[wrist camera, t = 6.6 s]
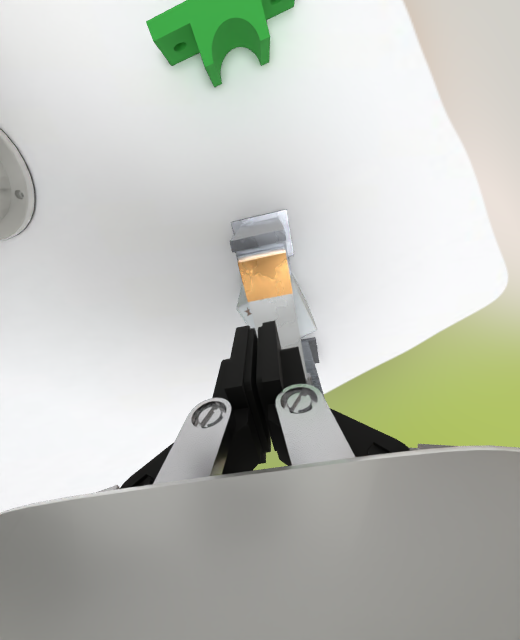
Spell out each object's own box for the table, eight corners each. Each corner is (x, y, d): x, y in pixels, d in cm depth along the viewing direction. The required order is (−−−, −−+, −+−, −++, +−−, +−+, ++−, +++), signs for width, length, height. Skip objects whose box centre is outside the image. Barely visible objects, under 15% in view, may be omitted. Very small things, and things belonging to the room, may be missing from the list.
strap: (234, 256, 21) (231, 261, 20) (288, 244, 21) (290, 248, 19) (268, 389, 27) (269, 401, 26) (311, 382, 27) (314, 394, 25)
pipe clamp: (185, 102, 25) (169, 84, 21) (166, 51, 24) (145, 21, 19) (302, 47, 23) (310, 16, 19) (290, -11, 22) (295, -59, 18)
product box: (264, 324, 35) (263, 355, 28) (240, 283, 32) (233, 307, 26) (307, 303, 33) (318, 331, 27) (286, 259, 31) (292, 278, 24)
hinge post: (255, 348, 36) (251, 415, 25) (314, 337, 35) (337, 402, 24) (260, 369, 37) (259, 442, 27) (318, 360, 37) (340, 430, 26)
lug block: (231, 221, 29) (214, 237, 19) (286, 209, 29) (297, 218, 19) (242, 264, 31) (231, 298, 21) (293, 253, 31) (307, 283, 21)
